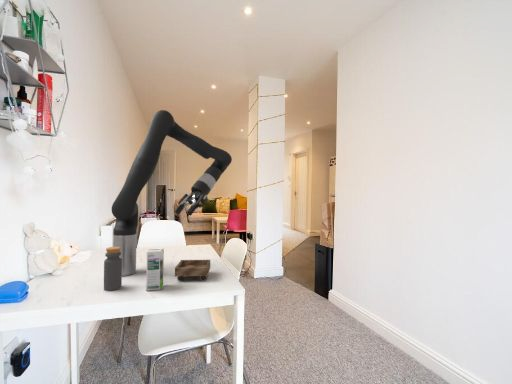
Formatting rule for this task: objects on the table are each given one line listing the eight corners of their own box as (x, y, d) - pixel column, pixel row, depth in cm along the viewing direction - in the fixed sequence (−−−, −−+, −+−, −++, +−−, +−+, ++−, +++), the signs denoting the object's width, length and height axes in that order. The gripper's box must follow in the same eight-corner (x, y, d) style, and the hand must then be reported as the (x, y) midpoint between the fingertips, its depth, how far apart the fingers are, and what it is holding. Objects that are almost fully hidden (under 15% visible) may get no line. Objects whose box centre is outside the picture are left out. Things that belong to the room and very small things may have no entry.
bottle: (117, 284, 101) (118, 245, 101) (124, 287, 97) (124, 247, 97) (101, 288, 96) (101, 248, 96) (107, 292, 92) (108, 250, 92)
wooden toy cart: (174, 282, 103) (174, 268, 103) (181, 272, 116) (181, 259, 116) (207, 281, 105) (207, 267, 105) (210, 272, 118) (210, 259, 118)
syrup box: (145, 291, 94) (146, 251, 94) (147, 285, 99) (148, 248, 99) (162, 289, 95) (163, 250, 95) (163, 284, 101) (164, 247, 101)
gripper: (189, 180, 118) (166, 207, 109) (209, 179, 108) (186, 208, 100) (198, 191, 122) (178, 218, 113) (219, 191, 112) (198, 220, 104)
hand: (182, 213), depth 106 cm, fingers open, 8 cm apart
